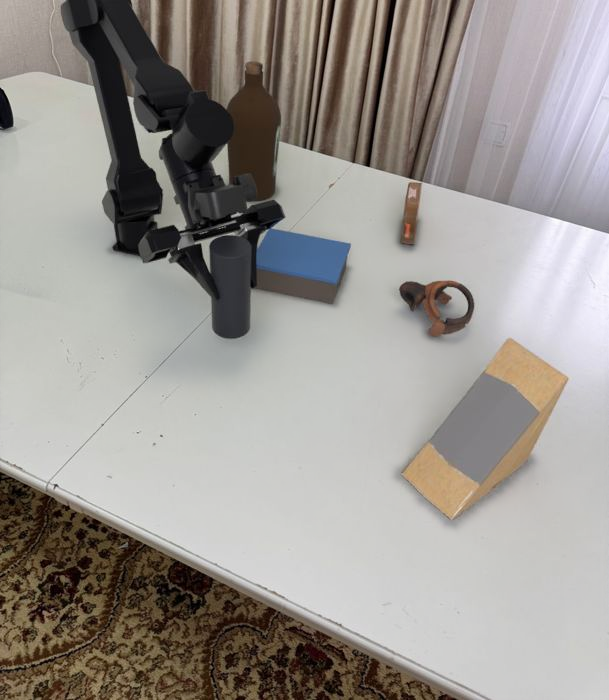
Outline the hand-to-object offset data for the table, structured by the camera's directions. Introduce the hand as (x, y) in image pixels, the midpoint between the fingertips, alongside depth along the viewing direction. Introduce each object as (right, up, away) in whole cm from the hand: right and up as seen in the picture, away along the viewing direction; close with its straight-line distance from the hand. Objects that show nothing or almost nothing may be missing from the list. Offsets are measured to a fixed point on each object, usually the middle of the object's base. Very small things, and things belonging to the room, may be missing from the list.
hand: (235, 293), depth 80 cm
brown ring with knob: (+29, -2, +20) cm, 36 cm away
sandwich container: (+29, -22, -2) cm, 37 cm away
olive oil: (-2, +26, +49) cm, 55 cm away
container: (+8, +5, +26) cm, 28 cm away
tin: (+29, +16, +40) cm, 52 cm away
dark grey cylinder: (-1, -4, +5) cm, 7 cm away
